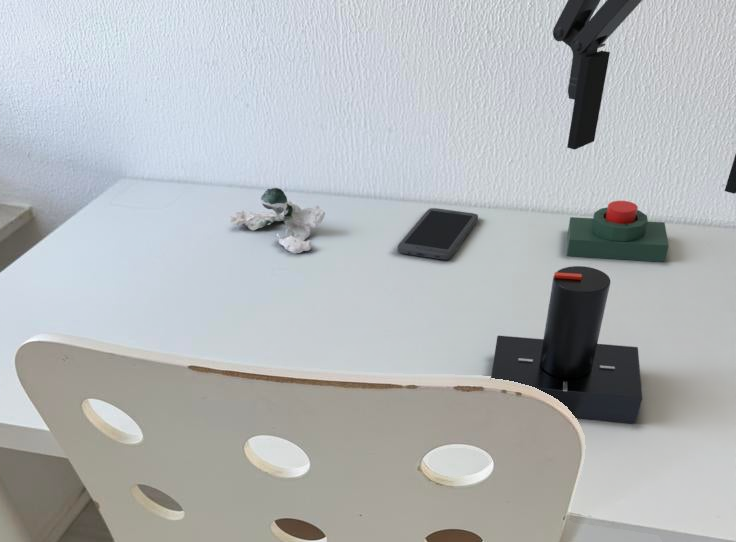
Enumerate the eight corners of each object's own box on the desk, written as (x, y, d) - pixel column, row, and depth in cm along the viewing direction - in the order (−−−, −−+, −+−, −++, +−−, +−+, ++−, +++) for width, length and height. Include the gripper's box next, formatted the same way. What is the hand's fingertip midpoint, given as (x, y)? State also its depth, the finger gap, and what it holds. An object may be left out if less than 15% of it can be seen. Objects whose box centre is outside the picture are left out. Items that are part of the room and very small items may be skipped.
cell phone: (395, 252, 101) (395, 247, 100) (429, 212, 110) (429, 206, 109) (449, 261, 98) (449, 255, 98) (479, 218, 107) (479, 213, 107)
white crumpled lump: (345, 222, 105) (319, 186, 98) (318, 274, 105) (291, 242, 98) (264, 200, 112) (235, 166, 105) (239, 249, 112) (208, 218, 105)
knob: (592, 352, 76) (610, 264, 70) (592, 380, 73) (612, 290, 66) (541, 348, 77) (554, 261, 71) (538, 375, 74) (553, 286, 67)
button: (634, 214, 98) (637, 201, 97) (635, 226, 96) (638, 212, 95) (605, 213, 99) (607, 199, 98) (605, 224, 97) (608, 211, 95)
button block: (660, 238, 101) (668, 208, 99) (664, 262, 96) (672, 231, 94) (567, 233, 104) (572, 203, 101) (566, 255, 99) (571, 225, 96)
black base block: (631, 371, 79) (638, 344, 77) (635, 424, 73) (643, 397, 71) (494, 359, 82) (497, 333, 79) (486, 409, 75) (489, 382, 73)
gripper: (530, -206, 50) (497, 140, 64) (957, -216, 36) (792, 225, 51) (597, -210, 53) (551, 119, 68) (1008, -221, 40) (840, 192, 54)
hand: (654, 165), depth 59 cm, fingers open, 13 cm apart
